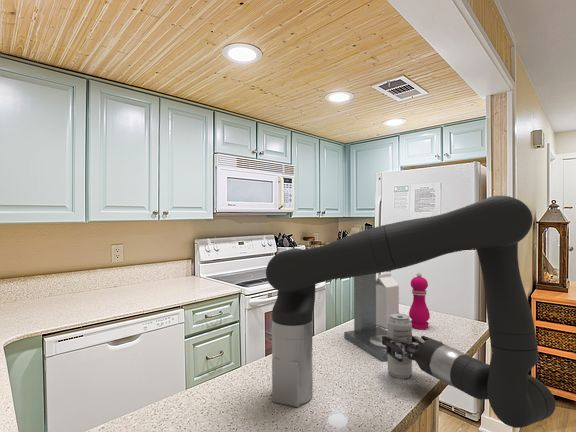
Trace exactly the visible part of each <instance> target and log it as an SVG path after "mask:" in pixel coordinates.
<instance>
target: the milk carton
mask: <svg viewBox="0 0 576 432" xmlns="http://www.w3.org/2000/svg"><path fill="white" fill-rule="evenodd" d="M399 289H400V287H399V284H398V282H397V281H396V280H395V278H393V276H392V273H391V272H390V273H385V274H378V277H376V326H377V327H380V328H383V329H384V328H385V329H387V321H388V319H389V318H390V314H394V313H399V312H400V310H399V309H400V308H399V307H400V303H399V302H400V301H399V300H400V299H399V298H400V297H399V296H400V295H399V294H400V292H399V291H400V290H399Z"/></svg>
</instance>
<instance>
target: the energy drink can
mask: <svg viewBox="0 0 576 432" xmlns="http://www.w3.org/2000/svg"><path fill="white" fill-rule="evenodd" d="M386 331H387V337H389V338H390V339H393V340H394V341H398V342H400V341H406V342H411V343H412V336H413V328H412V323H411V318H410V317H409V314H408V315H407V314H404V313H394V314H390V318H389V319H388V321H387V328H386ZM396 346H397V347H398V348H399V346H398V345H396ZM405 346H406V345H404V352H405ZM387 370H388V372H389V374H390V376H392V377H393V378H397V379H407V378H410V376H411V374H412V373H413V360H410V359H408V358H403V361H402V362H399V361H397V360H396V359H394V358H393V357H392V356H390V355H389V354H388V360H387Z"/></svg>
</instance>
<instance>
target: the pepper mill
mask: <svg viewBox="0 0 576 432" xmlns="http://www.w3.org/2000/svg"><path fill="white" fill-rule="evenodd" d="M422 276H423V274H422V273H421V272H416V276H414V277H413V278H411V280H410V286H411V291H412V292H411V294H412V296H413V297H412V298H413V299H412V300H413V301H412V302H411V306H410V308H409V311H408V316H409V319H410V321H411V323H412V327H413V328H412V329H415V328H417V329H416V330H427V329H426V328H428V329H429V322H428V321H429V320H430V317H431V316H430V310H429V309H428V306H427V303H426V295H427V288H428V287H429V283H428V280H427V278H425V277H422Z"/></svg>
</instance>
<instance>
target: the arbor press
mask: <svg viewBox="0 0 576 432" xmlns="http://www.w3.org/2000/svg"><path fill="white" fill-rule="evenodd" d="M389 272H390V273H391V272H392V270H391V271H386V272H385V273H389ZM376 280H377V273H376V274H369V275H363V276H357V277H353V292H354V293H353V298H354V299H353V300H354V302H353V311H354V315H353V317H354V318H353V319H354V320H353V321H354V322H353V325H354V326H353V327H354V328H353V330H350V331H349V330H348V331H344V332H343V336H344V337H343V338H344V339H345V340H347V342H348V341H349V342H350V343H352V344H353V345H355V346H357V347H358V348H360V349H361V350H363V351H365V352H367V353H368V354H370V355H371V356H372V357H374V358H376V359H378V360H379V361H381V362H386V361H387V362H388V354H387V353H386V346H385V345H383V344H382V336H387V329H384V328H383V327H381V326H377V325H376Z"/></svg>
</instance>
